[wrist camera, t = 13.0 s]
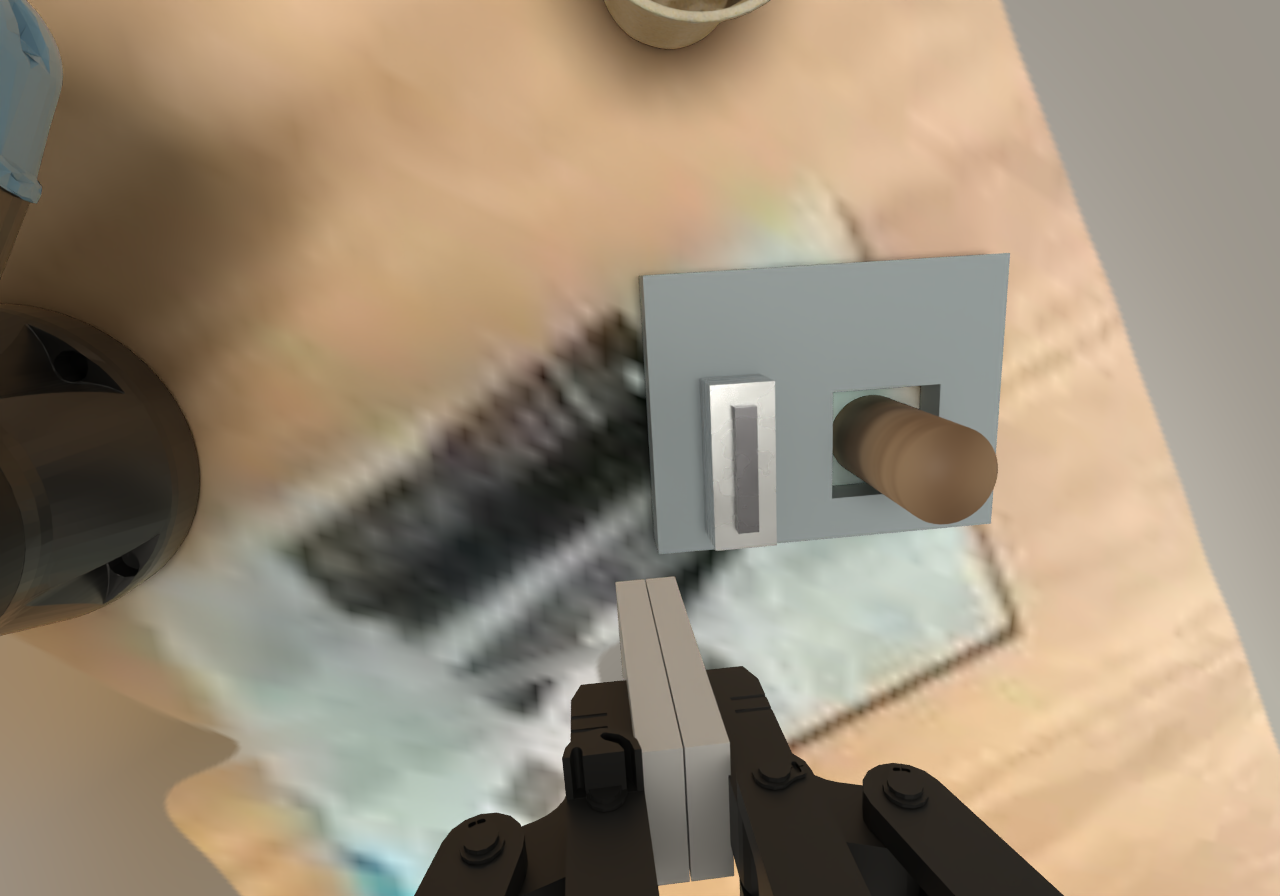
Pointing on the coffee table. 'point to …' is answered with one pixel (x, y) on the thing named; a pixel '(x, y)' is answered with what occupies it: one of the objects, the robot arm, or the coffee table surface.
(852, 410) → the walnut peg
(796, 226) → the coffee table surface
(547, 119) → the coffee table surface
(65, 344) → the robot arm
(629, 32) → the flower pot
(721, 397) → the bar
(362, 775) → the coffee table surface
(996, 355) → the housing plate
